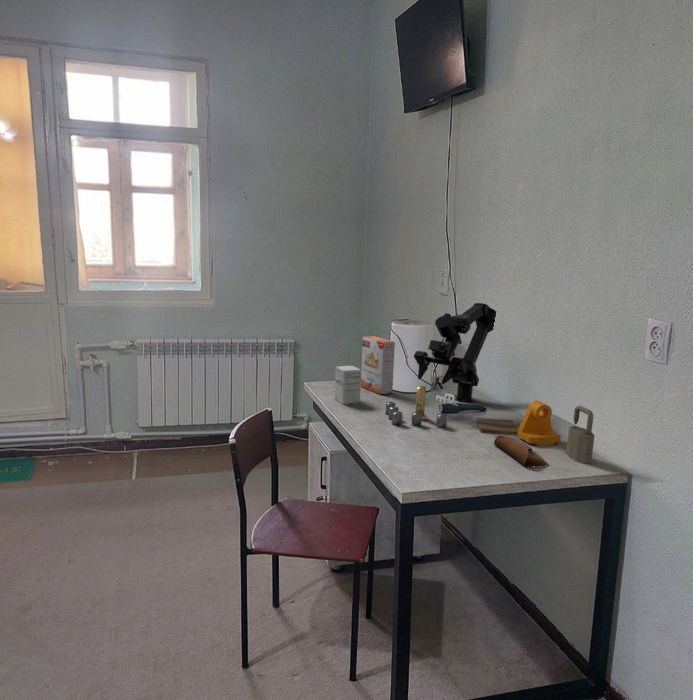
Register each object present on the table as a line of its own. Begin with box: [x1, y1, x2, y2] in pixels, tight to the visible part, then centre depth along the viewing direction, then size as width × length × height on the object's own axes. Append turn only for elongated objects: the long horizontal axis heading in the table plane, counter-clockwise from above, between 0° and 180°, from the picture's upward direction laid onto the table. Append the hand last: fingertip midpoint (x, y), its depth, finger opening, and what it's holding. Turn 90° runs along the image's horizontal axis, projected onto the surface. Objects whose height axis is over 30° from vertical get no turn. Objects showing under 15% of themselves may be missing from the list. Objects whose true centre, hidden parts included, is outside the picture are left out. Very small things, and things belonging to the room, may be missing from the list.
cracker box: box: [360, 335, 396, 395], centre depth 232 cm, size 14×6×21 cm, turn 33°
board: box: [475, 417, 519, 436], centre depth 193 cm, size 12×12×1 cm
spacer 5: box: [436, 413, 448, 429], centre depth 191 cm, size 3×3×4 cm
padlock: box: [565, 405, 595, 464], centre depth 167 cm, size 4×8×15 cm, turn 14°
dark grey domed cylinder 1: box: [385, 401, 396, 416], centre depth 203 cm, size 3×3×4 cm
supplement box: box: [334, 365, 362, 405], centre depth 216 cm, size 7×7×13 cm
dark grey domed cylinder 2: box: [388, 405, 399, 421], centre depth 198 cm, size 3×3×4 cm
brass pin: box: [415, 385, 428, 422], centre depth 199 cm, size 5×5×11 cm
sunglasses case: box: [493, 435, 549, 468], centre depth 168 cm, size 18×7×7 cm, turn 14°
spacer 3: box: [391, 410, 403, 427], centre depth 192 cm, size 3×3×4 cm
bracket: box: [517, 400, 562, 447], centre depth 180 cm, size 11×7×12 cm, turn 103°
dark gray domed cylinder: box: [411, 411, 423, 428], centre depth 192 cm, size 3×3×4 cm
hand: (430, 381), depth 202 cm, fingers open, 9 cm apart
